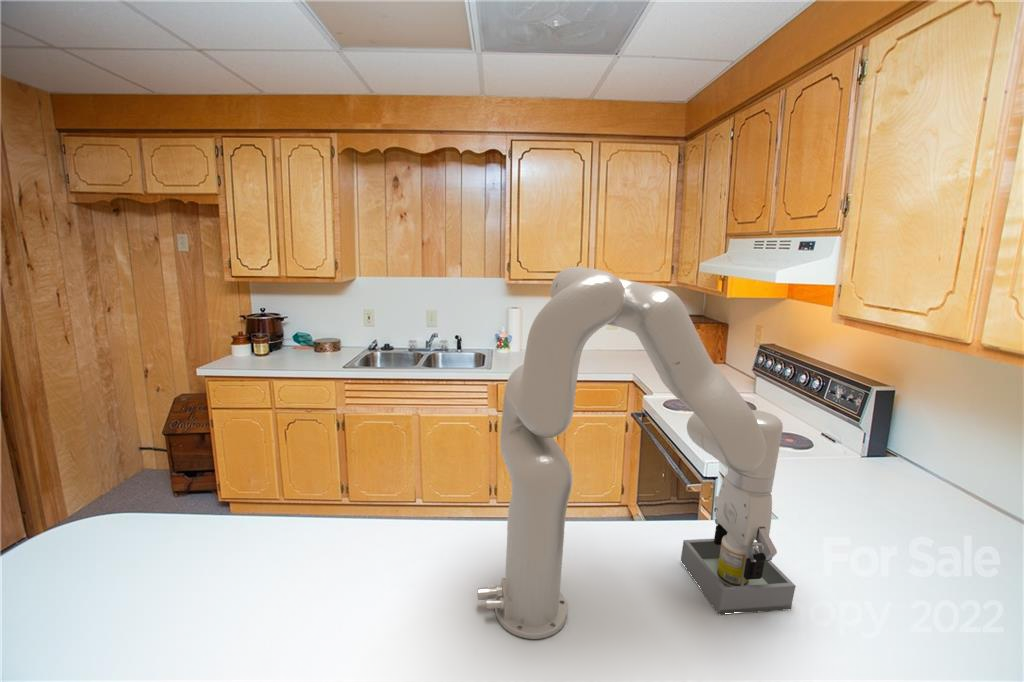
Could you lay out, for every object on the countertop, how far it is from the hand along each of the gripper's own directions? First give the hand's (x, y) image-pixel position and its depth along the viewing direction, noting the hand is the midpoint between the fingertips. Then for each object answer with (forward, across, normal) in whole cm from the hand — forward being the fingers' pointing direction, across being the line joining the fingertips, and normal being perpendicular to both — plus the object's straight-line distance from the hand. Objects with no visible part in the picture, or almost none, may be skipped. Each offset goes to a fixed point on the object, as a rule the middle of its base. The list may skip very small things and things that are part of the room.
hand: (736, 560), depth 89 cm
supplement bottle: (+4, 0, 0) cm, 5 cm away
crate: (+5, 0, 0) cm, 5 cm away
